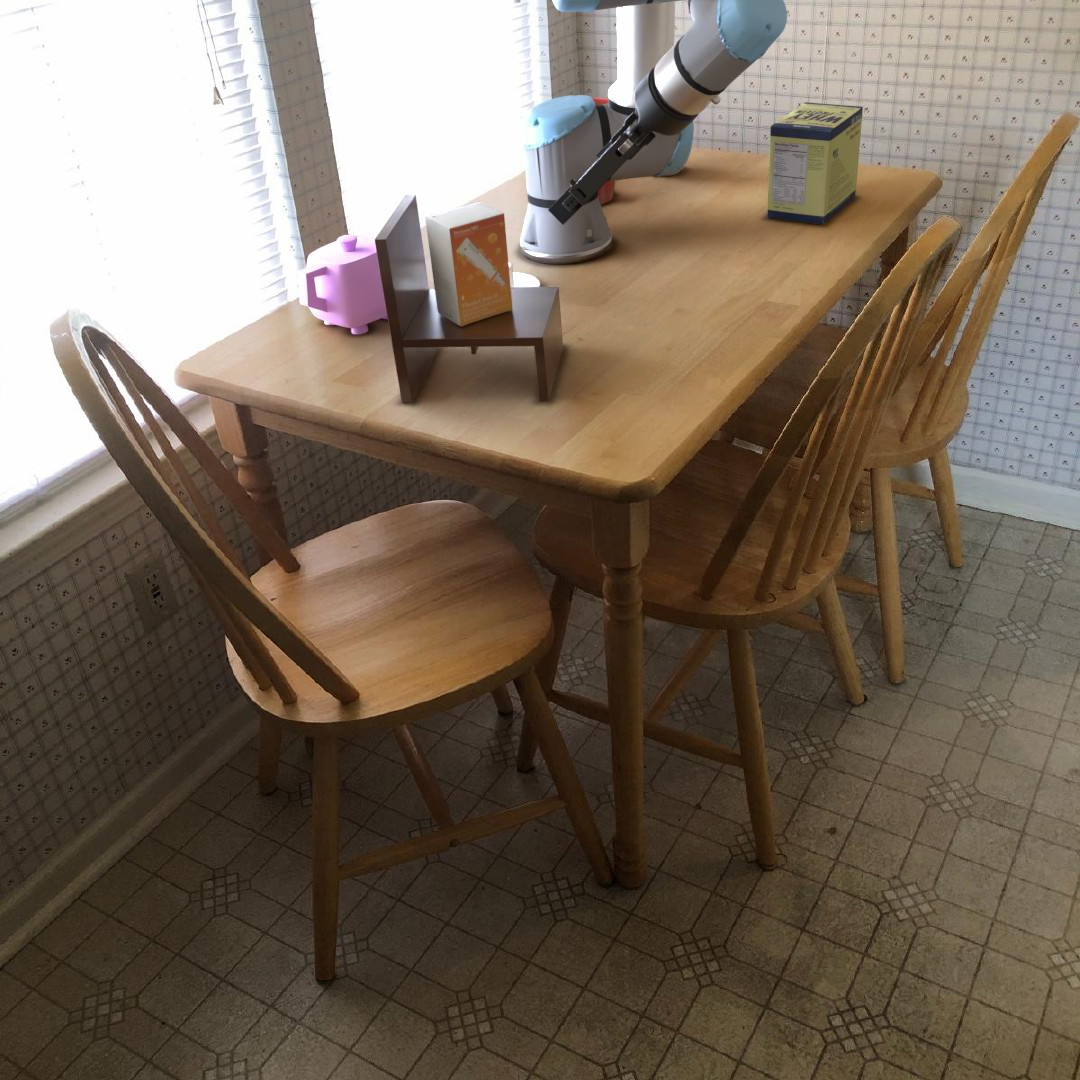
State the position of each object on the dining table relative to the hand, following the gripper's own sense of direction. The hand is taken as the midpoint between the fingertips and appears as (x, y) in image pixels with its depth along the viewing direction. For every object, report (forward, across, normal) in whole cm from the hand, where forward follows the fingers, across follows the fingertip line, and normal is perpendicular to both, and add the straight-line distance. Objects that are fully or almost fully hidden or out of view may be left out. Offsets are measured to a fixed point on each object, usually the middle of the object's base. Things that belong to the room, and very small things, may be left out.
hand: (580, 188), depth 148 cm
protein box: (+14, +52, -33) cm, 63 cm away
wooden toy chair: (+16, -21, -8) cm, 27 cm away
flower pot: (+43, +45, -4) cm, 62 cm away
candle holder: (+30, +3, -3) cm, 30 cm away
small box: (+10, -19, -1) cm, 22 cm away
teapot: (+38, -13, +10) cm, 41 cm away
